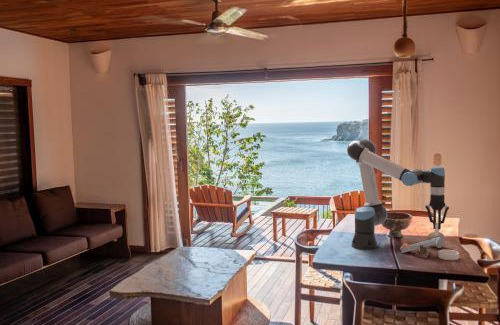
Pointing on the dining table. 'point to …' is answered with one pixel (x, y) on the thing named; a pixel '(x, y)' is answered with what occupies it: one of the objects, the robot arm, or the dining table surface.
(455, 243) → the dining table surface
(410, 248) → the lever
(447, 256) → the bowl
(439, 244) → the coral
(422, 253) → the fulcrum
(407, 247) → the ball
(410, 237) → the dining table surface
